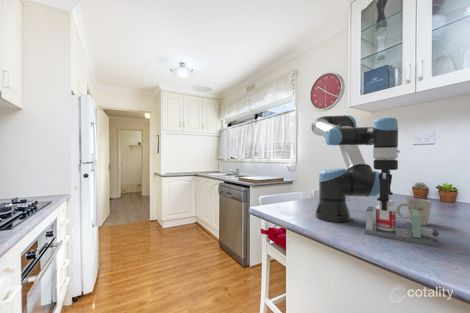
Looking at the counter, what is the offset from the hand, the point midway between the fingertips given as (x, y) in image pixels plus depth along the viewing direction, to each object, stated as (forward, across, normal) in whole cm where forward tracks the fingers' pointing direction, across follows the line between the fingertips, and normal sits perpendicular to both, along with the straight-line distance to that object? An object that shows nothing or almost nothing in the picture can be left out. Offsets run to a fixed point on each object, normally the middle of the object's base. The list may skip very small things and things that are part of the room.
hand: (385, 214), depth 80 cm
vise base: (+7, 0, -4) cm, 8 cm away
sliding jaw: (+5, 0, -11) cm, 12 cm away
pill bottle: (+6, 0, 0) cm, 6 cm away
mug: (+7, +22, -9) cm, 25 cm away
